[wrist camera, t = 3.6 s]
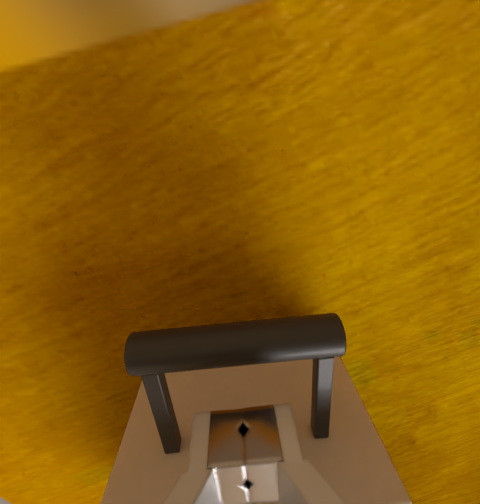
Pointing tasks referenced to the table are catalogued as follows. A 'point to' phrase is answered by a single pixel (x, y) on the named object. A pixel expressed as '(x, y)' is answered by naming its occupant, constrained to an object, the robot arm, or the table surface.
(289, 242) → the table surface
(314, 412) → the drawer
